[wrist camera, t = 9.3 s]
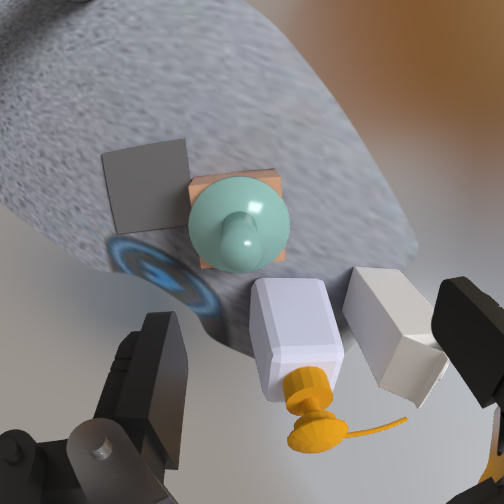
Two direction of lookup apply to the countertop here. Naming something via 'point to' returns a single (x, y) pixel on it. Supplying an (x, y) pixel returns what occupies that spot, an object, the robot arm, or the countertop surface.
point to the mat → (149, 186)
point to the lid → (239, 224)
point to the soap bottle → (300, 358)
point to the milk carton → (394, 332)
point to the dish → (204, 181)
